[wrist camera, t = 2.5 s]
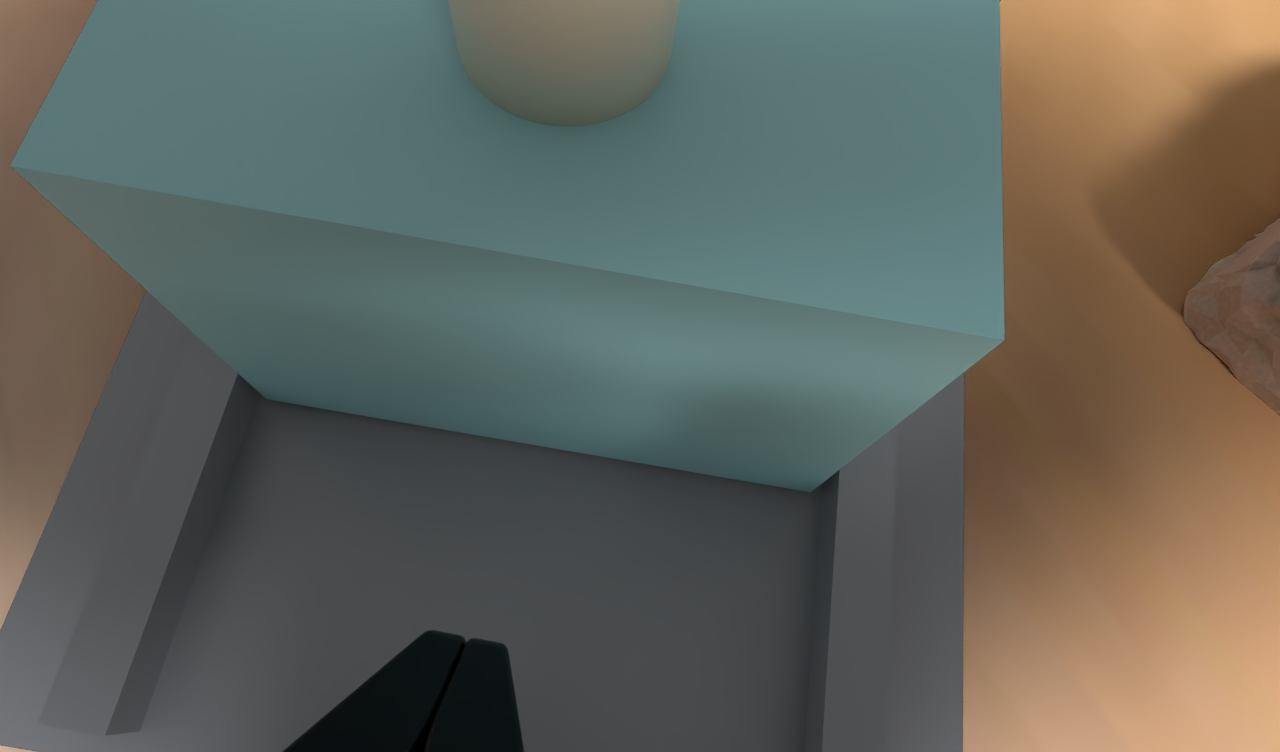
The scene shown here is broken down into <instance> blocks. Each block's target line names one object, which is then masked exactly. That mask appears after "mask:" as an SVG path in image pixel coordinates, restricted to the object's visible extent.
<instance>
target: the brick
mask: <svg viewBox="0 0 1280 752" xmlns="http://www.w3.org/2000/svg"><path fill="white" fill-rule="evenodd" d="M1184 321H1185V323H1186V324H1187V325H1188V326H1189V327H1190V328H1191V329H1192V330H1193V331H1194V333H1195V335H1196V337H1197V339H1198V340H1199V341H1200V342H1201V343H1202V344H1204V345H1205V346H1206V347H1207V348H1208V349H1210V350H1211V351H1212V352H1213V353H1214V354H1215V355H1216V356H1217V357H1219V358H1220V359H1221V360H1222V361H1223V362H1224V363H1225V364H1226V365H1227V366H1228V367H1229V369H1230V371H1231V372H1232V373H1233V375H1234V376H1235V377H1236V378H1237V379H1238V380H1239V381H1240V382H1241V383H1242V384H1243V385H1244V386H1245V387H1247V388H1248V389H1249V390H1250V391H1252V392H1253V393H1254V394H1255V395H1256V396H1258V397H1259V398H1260V399H1261V400H1262V401H1264V402H1265V403H1266V404H1267V405H1268V406H1269V407H1271V408H1272V409H1273V410H1274V411H1275V412H1276V413H1278V414H1279V415H1280V216H1279V218H1278V219H1277V220H1276V221H1275V222H1274V223H1272V224H1270V225H1268V226H1266V227H1265V229H1264V232H1262V233H1258V234H1255V235H1254V236H1253V240H1249V241H1247V242H1246V243H1245V244H1244V245H1243V246H1241V248H1240V249H1239V250H1238V251H1237V252H1236V253H1234V254H1231V255H1228V256H1226V257H1224V258H1222V259H1221V260H1219V261H1218V262H1216V263H1215V264H1214V265H1212V266H1211V267H1210V268H1209V269H1208V270H1207V272H1206V273H1205V275H1204V276H1203V278H1202V279H1201V280H1200V281H1199V282H1198V283H1197V284H1196V285H1195V286H1194V287H1193V288H1192V289H1191V290H1189V291H1188V292H1187V295H1186V299H1185V303H1184Z"/></svg>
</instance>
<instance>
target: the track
mask: <svg viewBox="0 0 1280 752" xmlns="http://www.w3.org/2000/svg"><path fill="white" fill-rule="evenodd" d="M1000 1H1001V0H999V2H1000ZM963 573H964V373H962V374H961V375H960V376H958V377H957V378H956V379H955V380H953V381H952V382H951V383H949V384H948V385H947V386H946V387H944V388H943V389H942V390H941V391H939V392H938V393H937V394H935V395H934V396H933V397H932V398H930V399H929V400H928V401H927V402H925V403H924V404H923V405H921V406H920V407H919V408H918V409H916V410H915V411H914V412H912V413H911V414H910V415H909V416H907V417H906V418H905V419H904V420H902V421H901V422H900V423H898V424H897V425H896V426H895V427H893V428H892V429H891V430H890V431H888V432H887V433H886V434H884V435H883V436H882V437H881V438H879V439H878V440H877V441H875V442H874V443H873V444H872V445H870V446H869V447H868V448H867V449H865V450H864V451H863V452H861V453H860V454H859V455H858V456H856V457H855V458H854V459H853V460H851V461H850V462H849V463H847V464H846V465H845V466H844V467H842V468H841V469H840V470H838V471H837V472H836V473H835V474H833V475H832V476H831V477H830V478H828V479H827V480H826V481H824V482H823V483H822V484H821V485H819V486H818V487H817V488H816V489H814V490H813V491H812V492H806V491H800V490H794V489H788V488H782V487H776V486H770V485H765V484H759V483H753V482H747V481H741V480H735V479H730V478H724V477H718V476H712V475H706V474H700V473H695V472H689V471H683V470H677V469H671V468H665V467H659V466H654V465H648V464H642V463H636V462H630V461H624V460H619V459H613V458H607V457H601V456H595V455H589V454H584V453H578V452H572V451H566V450H560V449H554V448H548V447H543V446H537V445H531V444H525V443H519V442H513V441H508V440H502V439H496V438H490V437H484V436H478V435H473V434H467V433H461V432H455V431H449V430H443V429H437V428H432V427H426V426H420V425H414V424H408V423H402V422H397V421H391V420H385V419H379V418H373V417H367V416H362V415H356V414H350V413H344V412H338V411H332V410H326V409H321V408H315V407H309V406H303V405H297V404H291V403H286V402H280V401H274V400H268V399H266V398H265V397H263V396H262V395H261V394H260V393H259V392H258V391H257V390H256V389H255V388H254V387H252V386H251V385H250V384H249V383H248V382H247V381H246V380H245V379H244V378H243V377H241V376H240V375H239V374H238V373H237V372H236V371H235V370H234V369H233V368H232V367H230V366H229V365H228V364H227V363H226V362H225V361H224V360H223V359H222V358H221V357H219V356H218V355H217V354H216V353H215V352H214V351H213V350H212V349H211V348H210V347H208V346H207V345H206V344H205V343H204V342H203V341H202V340H201V339H200V338H199V337H197V336H196V335H195V334H194V333H193V332H192V331H191V330H190V329H189V328H188V327H186V326H185V325H184V324H183V323H182V322H181V321H180V320H179V319H178V318H177V317H175V316H174V315H173V314H172V313H171V312H170V311H169V310H168V309H167V308H166V307H164V306H163V305H162V304H161V303H160V302H159V301H158V300H157V299H156V298H155V297H153V296H152V295H151V294H150V293H149V292H148V291H146V293H145V295H144V298H143V300H142V302H141V305H140V307H139V309H138V312H137V314H136V316H135V319H134V321H133V323H132V326H131V328H130V330H129V333H128V335H127V337H126V340H125V342H124V344H123V347H122V349H121V351H120V354H119V356H118V358H117V361H116V363H115V365H114V368H113V370H112V372H111V375H110V377H109V379H108V382H107V384H106V386H105V389H104V391H103V393H102V395H101V398H100V400H99V402H98V405H97V407H96V409H95V412H94V414H93V416H92V419H91V421H90V423H89V426H88V428H87V430H86V433H85V435H84V437H83V440H82V442H81V444H80V447H79V449H78V451H77V454H76V456H75V458H74V461H73V463H72V465H71V468H70V470H69V472H68V475H67V477H66V479H65V482H64V484H63V486H62V489H61V491H60V493H59V496H58V498H57V500H56V503H55V505H54V507H53V510H52V512H51V514H50V517H49V519H48V521H47V524H46V526H45V528H44V530H43V533H42V535H41V537H40V540H39V542H38V544H37V547H36V549H35V551H34V554H33V556H32V558H31V561H30V563H29V565H28V568H27V570H26V572H25V575H24V577H23V579H22V582H21V584H20V586H19V589H18V591H17V593H16V596H15V598H14V600H13V603H12V605H11V607H10V610H9V612H8V614H7V617H6V619H5V621H4V624H3V626H2V628H1V631H0V745H1V746H7V747H13V748H19V749H26V750H32V751H38V752H282V751H283V750H284V749H286V748H287V747H288V746H289V745H290V744H292V743H293V742H294V741H295V740H296V739H298V738H299V737H300V736H301V735H302V734H303V733H305V732H306V731H307V730H308V729H309V728H311V727H312V726H313V725H314V724H315V723H317V722H318V721H319V720H320V719H321V718H323V717H324V716H325V715H326V714H327V713H328V712H330V711H331V710H332V709H333V708H334V707H336V706H337V705H338V704H339V703H340V702H342V701H343V700H344V699H345V698H346V697H347V696H349V695H350V694H351V693H352V692H353V691H355V690H356V689H357V688H358V687H359V686H361V685H362V684H363V683H364V682H365V681H366V680H368V679H369V678H370V677H371V676H372V675H374V674H375V673H376V672H377V671H378V670H380V669H381V668H382V667H383V666H384V665H385V664H387V663H388V662H389V661H390V660H391V659H393V658H394V657H395V656H396V655H397V654H399V653H400V652H401V651H402V650H403V649H405V648H406V647H407V646H408V645H409V644H410V643H412V642H413V641H414V640H415V639H416V638H418V637H419V636H420V635H421V634H422V633H424V632H426V631H428V630H436V631H441V632H446V633H452V634H457V635H461V636H463V637H464V638H465V640H466V642H467V641H468V640H469V639H471V638H478V639H483V640H489V641H494V642H499V643H503V644H505V645H506V647H507V648H508V652H509V658H510V664H511V671H512V677H513V683H514V689H515V696H516V702H517V708H518V714H519V721H520V727H521V733H522V739H523V746H524V752H963Z"/></svg>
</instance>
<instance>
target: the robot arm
mask: <svg viewBox="0 0 1280 752" xmlns="http://www.w3.org/2000/svg"><path fill="white" fill-rule="evenodd" d="M282 752H524V746H523V739H522V733H521V727H520V721H519V714H518V708H517V702H516V696H515V689H514V683H513V677H512V671H511V664H510V658H509V652H508V648H507V647H506V645H505V644H503V643H499V642H494V641H489V640H483V639H478V638H471V639H469V640H468V641H467V642H466V640H465V638H464V637H463V636H461V635H457V634H452V633H446V632H441V631H436V630H428V631H426V632H424V633H422V634H421V635H420V636H419V637H418V638H416V639H415V640H414V641H413V642H412V643H410V644H409V645H408V646H407V647H406V648H405V649H403V650H402V651H401V652H400V653H399V654H397V655H396V656H395V657H394V658H393V659H391V660H390V661H389V662H388V663H387V664H385V665H384V666H383V667H382V668H381V669H380V670H378V671H377V672H376V673H375V674H374V675H372V676H371V677H370V678H369V679H368V680H366V681H365V682H364V683H363V684H362V685H361V686H359V687H358V688H357V689H356V690H355V691H353V692H352V693H351V694H350V695H349V696H347V697H346V698H345V699H344V700H343V701H342V702H340V703H339V704H338V705H337V706H336V707H334V708H333V709H332V710H331V711H330V712H328V713H327V714H326V715H325V716H324V717H323V718H321V719H320V720H319V721H318V722H317V723H315V724H314V725H313V726H312V727H311V728H309V729H308V730H307V731H306V732H305V733H303V734H302V735H301V736H300V737H299V738H298V739H296V740H295V741H294V742H293V743H292V744H290V745H289V746H288V747H287V748H286V749H284V750H283V751H282Z"/></svg>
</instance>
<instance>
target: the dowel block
mask: <svg viewBox="0 0 1280 752" xmlns="http://www.w3.org/2000/svg"><path fill="white" fill-rule="evenodd" d="M10 167H12V168H13V169H14V170H15V171H16V172H17V173H18V174H19V175H20V176H21V177H23V178H24V179H25V180H26V181H27V182H28V183H29V184H30V185H31V186H32V187H34V188H35V189H36V190H37V191H38V192H39V193H40V194H41V195H42V196H43V197H45V198H46V199H47V200H48V201H49V202H50V203H51V204H52V205H53V206H54V207H56V208H57V209H58V210H59V211H60V212H61V213H62V214H63V215H64V216H65V217H67V218H68V219H69V220H70V221H71V222H72V223H73V224H74V225H75V226H76V227H78V228H79V229H80V230H81V231H82V232H83V233H84V234H85V235H86V236H87V237H89V238H90V239H91V240H92V241H93V242H94V243H95V244H96V245H97V246H98V247H100V248H101V249H102V250H103V251H104V252H105V253H106V254H107V255H108V256H109V257H111V258H112V259H113V260H114V261H115V262H116V263H117V264H118V265H119V266H120V267H122V268H123V269H124V270H125V271H126V272H127V273H128V274H129V275H130V276H131V277H133V278H134V279H135V280H136V281H137V282H138V283H139V284H140V285H141V286H142V287H144V288H145V289H146V290H147V291H148V292H149V293H150V294H151V295H152V296H153V297H155V298H156V299H157V300H158V301H159V302H160V303H161V304H162V305H163V306H164V307H166V308H167V309H168V310H169V311H170V312H171V313H172V314H173V315H174V316H175V317H177V318H178V319H179V320H180V321H181V322H182V323H183V324H184V325H185V326H186V327H188V328H189V329H190V330H191V331H192V332H193V333H194V334H195V335H196V336H197V337H199V338H200V339H201V340H202V341H203V342H204V343H205V344H206V345H207V346H208V347H210V348H211V349H212V350H213V351H214V352H215V353H216V354H217V355H218V356H219V357H221V358H222V359H223V360H224V361H225V362H226V363H227V364H228V365H229V366H230V367H232V368H233V369H234V370H235V371H236V372H237V373H238V374H239V375H240V376H241V377H243V378H244V379H245V380H246V381H247V382H248V383H249V384H250V385H251V386H252V387H254V388H255V389H256V390H257V391H258V392H259V393H260V394H261V395H262V396H263V397H265V398H266V399H268V400H274V401H280V402H286V403H291V404H297V405H303V406H309V407H315V408H321V409H326V410H332V411H338V412H344V413H350V414H356V415H362V416H367V417H373V418H379V419H385V420H391V421H397V422H402V423H408V424H414V425H420V426H426V427H432V428H437V429H443V430H449V431H455V432H461V433H467V434H473V435H478V436H484V437H490V438H496V439H502V440H508V441H513V442H519V443H525V444H531V445H537V446H543V447H548V448H554V449H560V450H566V451H572V452H578V453H584V454H589V455H595V456H601V457H607V458H613V459H619V460H624V461H630V462H636V463H642V464H648V465H654V466H659V467H665V468H671V469H677V470H683V471H689V472H695V473H700V474H706V475H712V476H718V477H724V478H730V479H735V480H741V481H747V482H753V483H759V484H765V485H770V486H776V487H782V488H788V489H794V490H800V491H806V492H812V491H813V490H814V489H816V488H817V487H818V486H819V485H821V484H822V483H823V482H824V481H826V480H827V479H828V478H830V477H831V476H832V475H833V474H835V473H836V472H837V471H838V470H840V469H841V468H842V467H844V466H845V465H846V464H847V463H849V462H850V461H851V460H853V459H854V458H855V457H856V456H858V455H859V454H860V453H861V452H863V451H864V450H865V449H867V448H868V447H869V446H870V445H872V444H873V443H874V442H875V441H877V440H878V439H879V438H881V437H882V436H883V435H884V434H886V433H887V432H888V431H890V430H891V429H892V428H893V427H895V426H896V425H897V424H898V423H900V422H901V421H902V420H904V419H905V418H906V417H907V416H909V415H910V414H911V413H912V412H914V411H915V410H916V409H918V408H919V407H920V406H921V405H923V404H924V403H925V402H927V401H928V400H929V399H930V398H932V397H933V396H934V395H935V394H937V393H938V392H939V391H941V390H942V389H943V388H944V387H946V386H947V385H948V384H949V383H951V382H952V381H953V380H955V379H956V378H957V377H958V376H960V375H961V374H962V373H964V372H965V371H966V370H967V369H969V368H970V367H971V366H972V365H974V364H975V363H976V362H978V361H979V360H980V359H981V358H983V357H984V356H985V355H986V354H988V353H989V352H990V351H992V350H993V349H994V348H995V347H997V346H998V345H999V344H1001V343H1002V342H1003V341H1004V340H1005V330H1004V265H1003V201H1002V137H1001V73H1000V9H999V0H98V2H97V3H96V5H95V7H94V9H93V11H92V13H91V15H90V16H89V18H88V20H87V22H86V24H85V26H84V28H83V30H82V31H81V33H80V35H79V37H78V39H77V41H76V43H75V44H74V46H73V48H72V50H71V52H70V54H69V56H68V58H67V59H66V61H65V63H64V65H63V67H62V69H61V71H60V72H59V74H58V76H57V78H56V80H55V82H54V84H53V86H52V87H51V89H50V91H49V93H48V95H47V97H46V99H45V100H44V102H43V104H42V106H41V108H40V110H39V112H38V114H37V115H36V117H35V119H34V121H33V123H32V125H31V127H30V128H29V130H28V132H27V134H26V136H25V138H24V140H23V142H22V143H21V145H20V147H19V149H18V151H17V153H16V155H15V156H14V158H13V160H12V162H11V164H10Z"/></svg>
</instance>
